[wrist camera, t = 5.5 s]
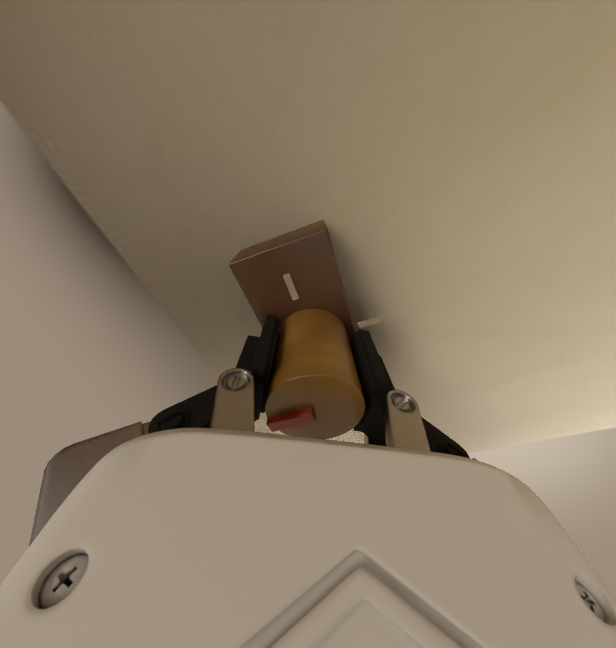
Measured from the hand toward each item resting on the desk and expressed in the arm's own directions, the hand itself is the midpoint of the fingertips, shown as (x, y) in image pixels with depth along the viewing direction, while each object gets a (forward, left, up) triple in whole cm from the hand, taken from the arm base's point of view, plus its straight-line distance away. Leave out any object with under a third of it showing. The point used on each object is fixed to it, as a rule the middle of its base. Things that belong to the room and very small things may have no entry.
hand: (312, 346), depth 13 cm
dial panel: (0, 0, -3) cm, 3 cm away
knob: (0, 0, -1) cm, 1 cm away
